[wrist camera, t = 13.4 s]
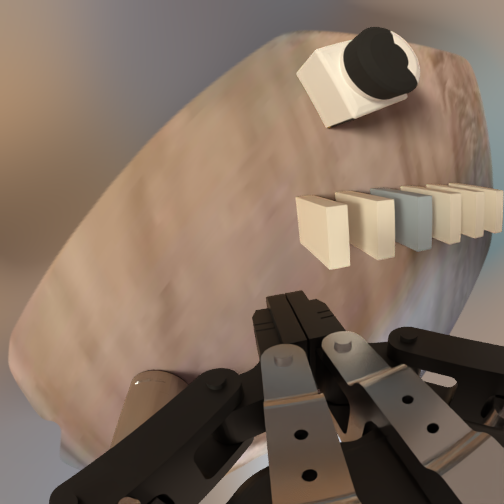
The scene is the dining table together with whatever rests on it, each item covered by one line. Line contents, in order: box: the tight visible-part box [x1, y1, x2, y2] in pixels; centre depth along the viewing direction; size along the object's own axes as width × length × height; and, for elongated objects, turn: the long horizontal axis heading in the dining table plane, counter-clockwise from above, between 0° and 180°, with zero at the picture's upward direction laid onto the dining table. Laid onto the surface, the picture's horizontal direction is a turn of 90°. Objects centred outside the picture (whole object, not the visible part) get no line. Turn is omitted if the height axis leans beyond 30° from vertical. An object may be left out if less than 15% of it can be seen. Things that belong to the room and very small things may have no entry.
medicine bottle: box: [297, 27, 420, 128], centre depth 21 cm, size 7×7×12 cm
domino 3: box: [370, 188, 432, 252], centre depth 26 cm, size 5×2×9 cm, turn 8°
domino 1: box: [296, 195, 350, 270], centre depth 26 cm, size 5×2×9 cm, turn 8°
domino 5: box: [426, 184, 485, 238], centre depth 27 cm, size 5×2×9 cm, turn 8°
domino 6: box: [448, 183, 503, 233], centre depth 27 cm, size 5×2×9 cm, turn 8°
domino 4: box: [400, 185, 461, 244], centre depth 26 cm, size 5×2×9 cm, turn 8°
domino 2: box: [335, 191, 395, 260], centre depth 26 cm, size 5×2×9 cm, turn 8°
